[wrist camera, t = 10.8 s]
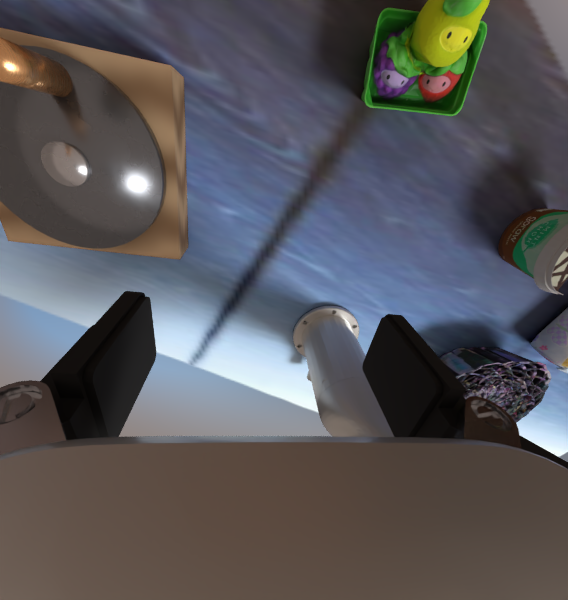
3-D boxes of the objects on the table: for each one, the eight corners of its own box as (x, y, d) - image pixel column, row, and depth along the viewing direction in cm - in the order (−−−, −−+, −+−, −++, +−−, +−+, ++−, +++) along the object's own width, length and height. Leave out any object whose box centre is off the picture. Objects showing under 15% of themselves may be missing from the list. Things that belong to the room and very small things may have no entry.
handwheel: (167, 85, 25) (130, 60, 18) (165, 256, 34) (140, 286, 27) (-57, 20, 22) (-217, -46, 14) (4, 228, 30) (-76, 253, 23)
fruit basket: (348, 112, 32) (388, 97, 23) (364, 11, 28) (421, -61, 18) (432, 120, 34) (504, 109, 24) (460, 25, 29) (562, -36, 19)
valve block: (188, 247, 39) (179, 259, 35) (38, 229, 36) (8, 240, 31) (183, 77, 29) (171, 65, 25) (-24, 32, 26) (-80, 10, 22)
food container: (524, 189, 39) (599, 201, 31) (555, 199, 40) (635, 213, 32) (476, 263, 45) (527, 290, 36) (504, 270, 46) (560, 298, 38)
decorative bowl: (481, 402, 69) (515, 437, 61) (385, 419, 66) (408, 459, 57) (524, 325, 56) (575, 356, 48) (408, 341, 53) (442, 377, 44)
